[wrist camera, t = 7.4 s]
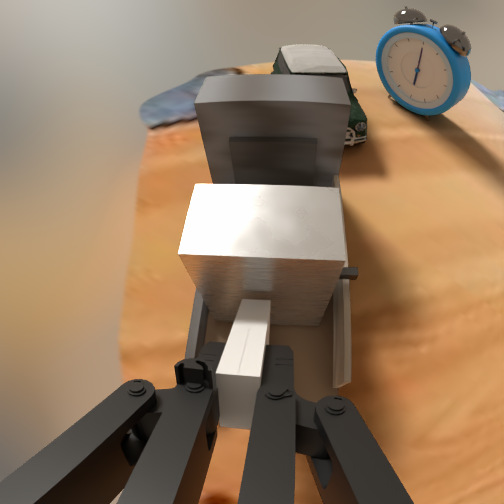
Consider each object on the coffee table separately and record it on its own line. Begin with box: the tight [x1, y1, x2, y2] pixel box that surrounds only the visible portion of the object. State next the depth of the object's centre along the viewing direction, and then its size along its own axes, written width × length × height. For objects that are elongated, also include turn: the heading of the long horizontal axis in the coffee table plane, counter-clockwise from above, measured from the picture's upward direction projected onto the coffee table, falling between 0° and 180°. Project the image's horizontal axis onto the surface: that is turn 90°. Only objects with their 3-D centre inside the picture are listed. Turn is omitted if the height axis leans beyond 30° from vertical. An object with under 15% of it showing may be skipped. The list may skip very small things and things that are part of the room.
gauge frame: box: [185, 74, 351, 403], centre depth 19 cm, size 10×20×12 cm, turn 175°
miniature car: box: [271, 44, 367, 146], centre depth 32 cm, size 9×18×8 cm, turn 4°
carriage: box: [178, 184, 358, 326], centre depth 17 cm, size 9×4×9 cm, turn 85°
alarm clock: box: [376, 7, 471, 121], centre depth 30 cm, size 13×6×15 cm, turn 39°
